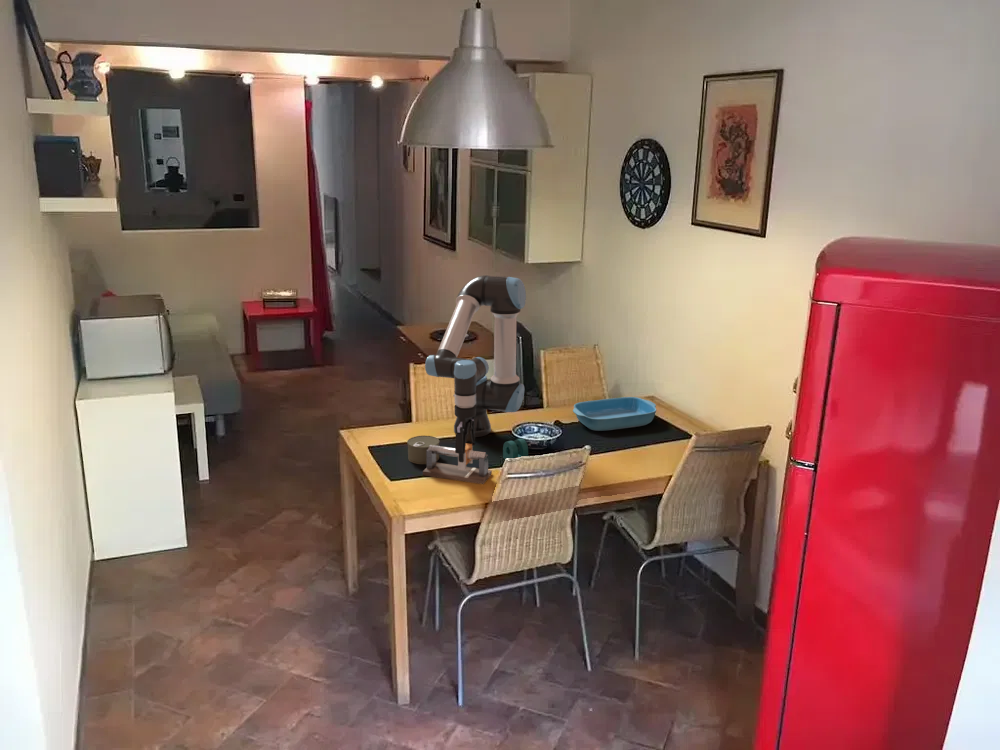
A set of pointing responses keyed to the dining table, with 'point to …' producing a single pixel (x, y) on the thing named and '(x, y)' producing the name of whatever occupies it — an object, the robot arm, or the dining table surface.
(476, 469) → the pipe stand
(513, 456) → the bracket
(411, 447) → the can
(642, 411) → the casserole dish
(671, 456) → the dining table surface
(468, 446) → the collar
